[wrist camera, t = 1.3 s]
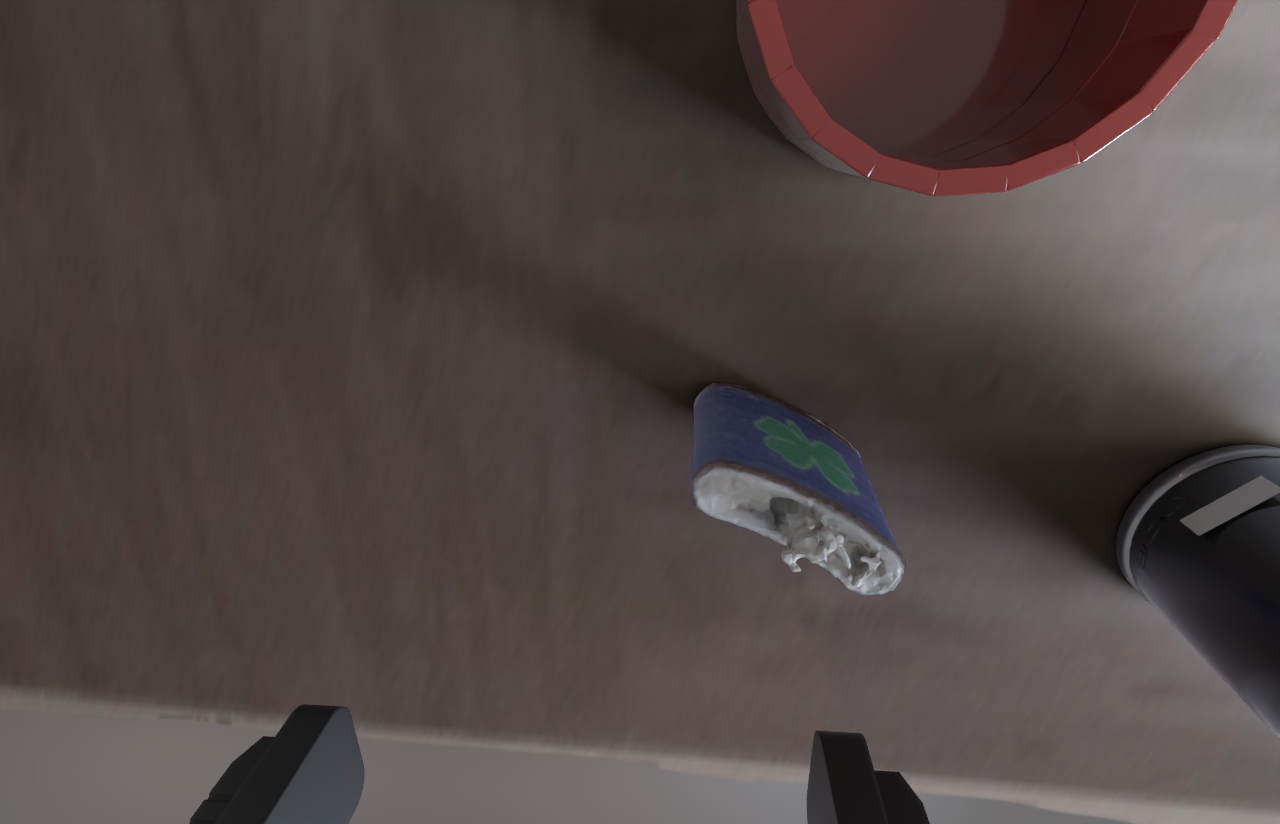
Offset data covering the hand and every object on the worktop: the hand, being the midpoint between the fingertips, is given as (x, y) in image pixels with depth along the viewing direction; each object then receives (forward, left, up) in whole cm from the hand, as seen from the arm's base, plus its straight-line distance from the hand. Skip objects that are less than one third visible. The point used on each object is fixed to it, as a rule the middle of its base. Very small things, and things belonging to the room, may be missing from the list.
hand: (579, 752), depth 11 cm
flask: (-7, +2, -23) cm, 24 cm away
